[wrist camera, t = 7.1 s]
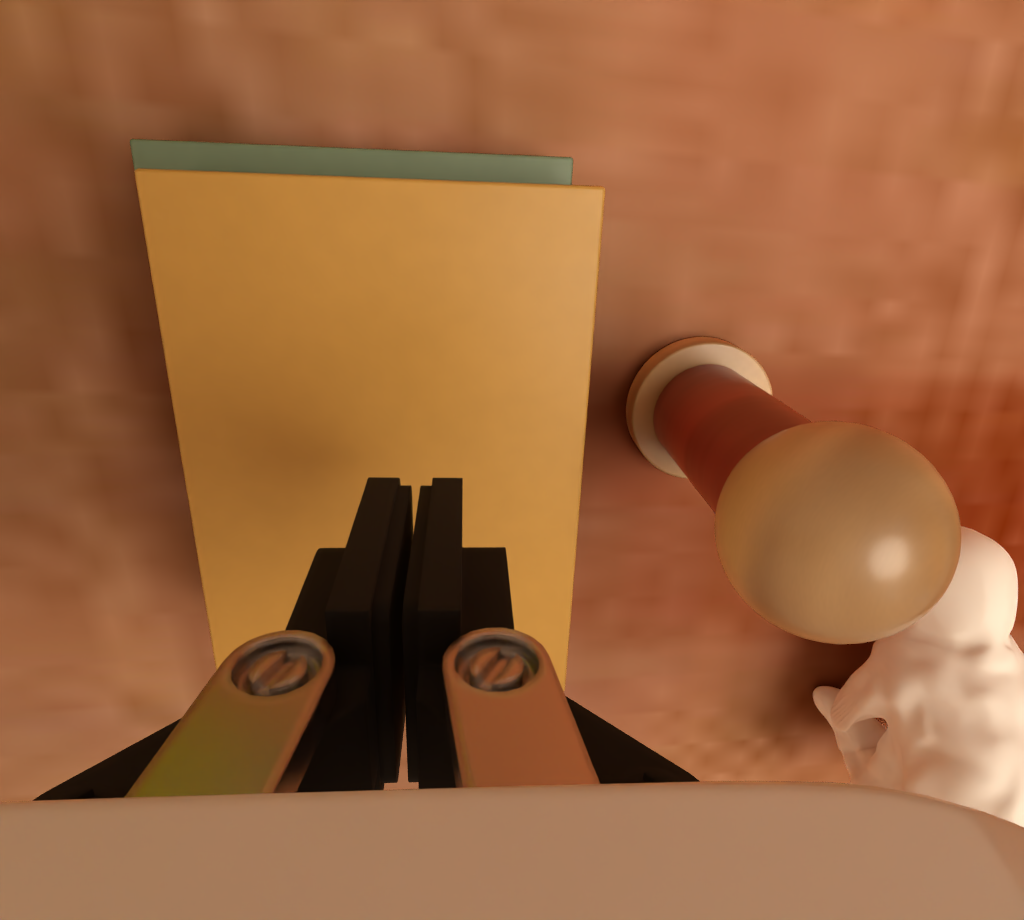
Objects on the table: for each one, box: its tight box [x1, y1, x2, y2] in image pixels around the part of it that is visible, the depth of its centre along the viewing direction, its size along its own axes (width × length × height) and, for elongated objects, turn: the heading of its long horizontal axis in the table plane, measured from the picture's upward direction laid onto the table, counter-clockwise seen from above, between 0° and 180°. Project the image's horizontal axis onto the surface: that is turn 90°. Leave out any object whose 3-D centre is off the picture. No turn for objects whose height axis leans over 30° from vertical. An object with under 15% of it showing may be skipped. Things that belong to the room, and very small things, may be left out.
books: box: [130, 139, 605, 691], centre depth 19 cm, size 11×15×6 cm
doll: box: [626, 337, 961, 644], centre depth 18 cm, size 9×5×12 cm, turn 88°
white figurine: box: [813, 526, 1024, 827], centre depth 24 cm, size 6×8×12 cm
